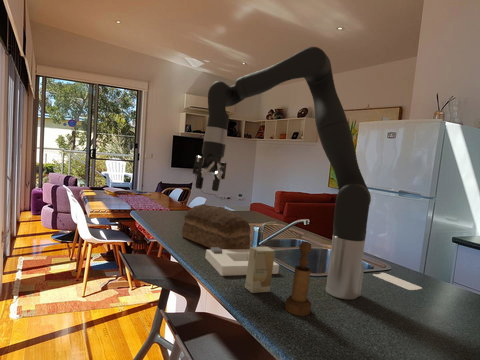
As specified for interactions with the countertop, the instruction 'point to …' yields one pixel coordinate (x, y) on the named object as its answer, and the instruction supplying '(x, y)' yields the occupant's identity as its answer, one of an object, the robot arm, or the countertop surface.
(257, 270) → the skincare box
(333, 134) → the robot arm
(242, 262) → the socket plate
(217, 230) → the bread
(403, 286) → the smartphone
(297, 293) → the brown wooden tall piece
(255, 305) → the countertop surface
